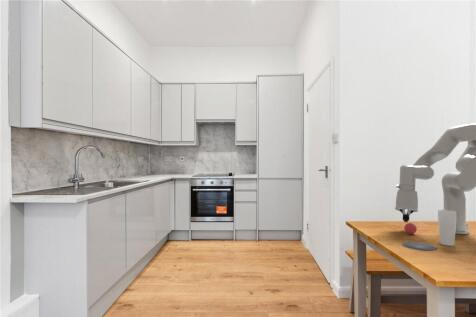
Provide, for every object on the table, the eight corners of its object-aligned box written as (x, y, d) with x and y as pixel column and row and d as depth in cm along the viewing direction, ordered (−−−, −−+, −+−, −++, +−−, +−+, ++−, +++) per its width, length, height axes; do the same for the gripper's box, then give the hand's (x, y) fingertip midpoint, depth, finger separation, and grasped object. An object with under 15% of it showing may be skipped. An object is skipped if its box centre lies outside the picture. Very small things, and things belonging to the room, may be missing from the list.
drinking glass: (459, 247, 128) (459, 212, 129) (442, 246, 130) (442, 211, 130) (451, 243, 135) (451, 210, 135) (435, 242, 136) (435, 209, 137)
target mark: (413, 241, 138) (413, 240, 138) (443, 248, 126) (443, 247, 126) (395, 244, 132) (395, 243, 132) (425, 252, 120) (425, 251, 120)
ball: (408, 232, 156) (408, 221, 156) (419, 234, 151) (418, 223, 151) (401, 233, 153) (401, 222, 154) (412, 235, 149) (412, 224, 149)
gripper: (392, 187, 161) (391, 221, 161) (424, 189, 155) (423, 224, 155) (391, 186, 168) (389, 219, 168) (421, 188, 162) (420, 222, 162)
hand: (405, 221), depth 161 cm, fingers closed
